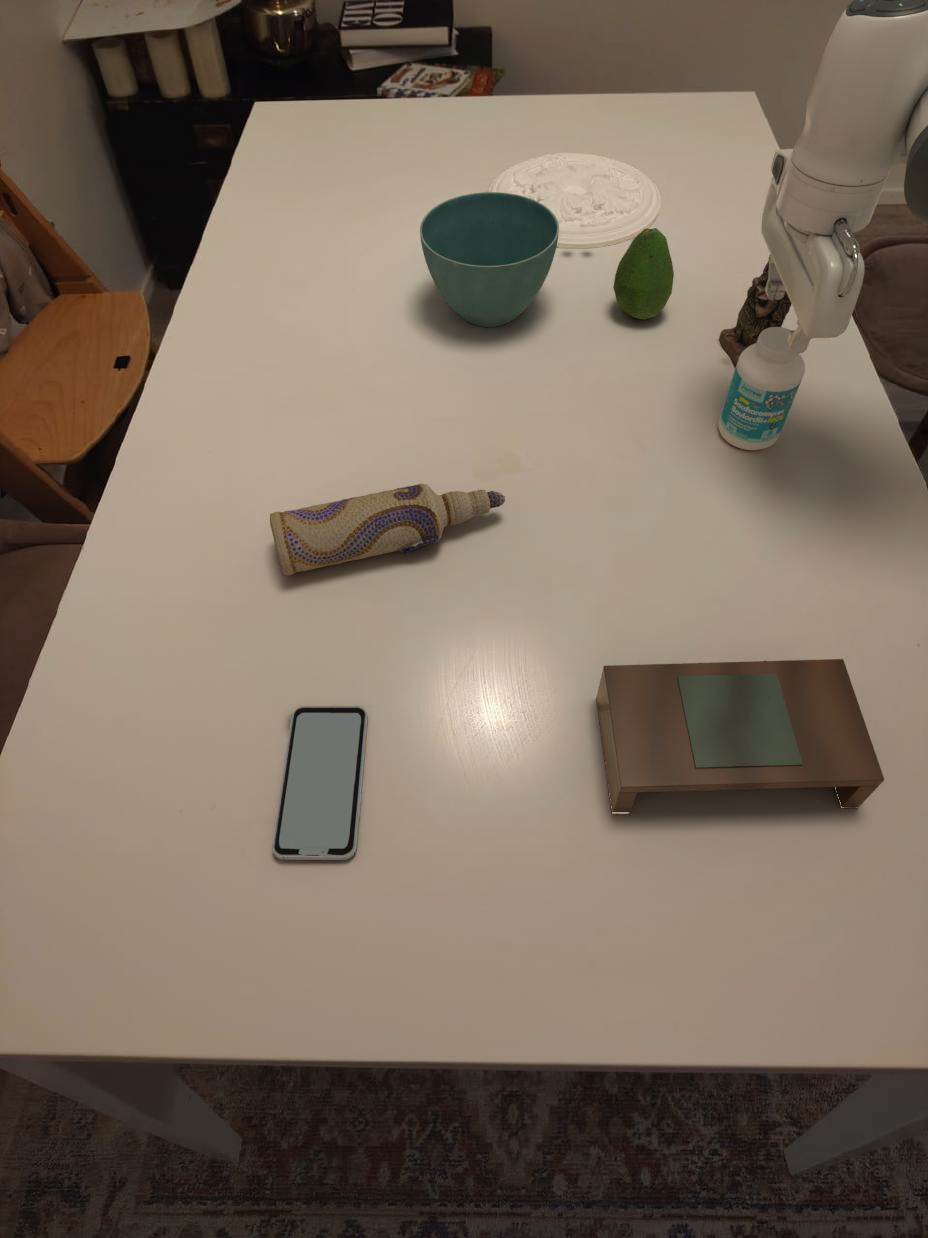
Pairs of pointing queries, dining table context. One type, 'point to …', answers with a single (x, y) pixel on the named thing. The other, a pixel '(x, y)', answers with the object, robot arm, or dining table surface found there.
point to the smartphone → (321, 784)
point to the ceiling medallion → (586, 196)
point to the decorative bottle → (371, 525)
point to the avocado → (644, 275)
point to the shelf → (734, 729)
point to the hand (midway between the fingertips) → (783, 321)
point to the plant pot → (489, 253)
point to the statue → (754, 317)
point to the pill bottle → (761, 391)
